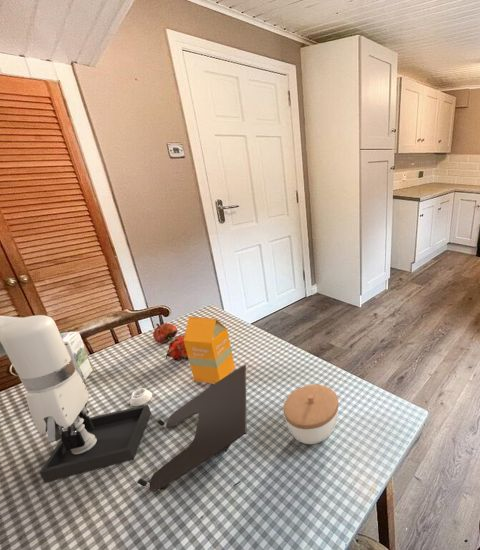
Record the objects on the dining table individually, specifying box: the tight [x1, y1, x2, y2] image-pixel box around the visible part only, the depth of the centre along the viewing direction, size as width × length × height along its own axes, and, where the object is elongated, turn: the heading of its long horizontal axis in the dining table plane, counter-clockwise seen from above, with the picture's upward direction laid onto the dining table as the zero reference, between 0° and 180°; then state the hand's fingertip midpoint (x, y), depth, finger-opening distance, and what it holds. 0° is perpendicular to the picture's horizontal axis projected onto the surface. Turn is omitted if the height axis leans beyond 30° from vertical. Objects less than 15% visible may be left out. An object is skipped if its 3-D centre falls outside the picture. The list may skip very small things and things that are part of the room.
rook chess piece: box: [64, 416, 97, 454], centre depth 68 cm, size 4×4×8 cm
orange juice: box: [184, 316, 236, 384], centre depth 90 cm, size 8×9×20 cm
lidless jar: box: [129, 387, 153, 407], centre depth 83 cm, size 5×3×5 cm
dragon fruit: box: [165, 332, 188, 362], centre depth 101 cm, size 8×8×12 cm
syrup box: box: [60, 331, 94, 383], centre depth 89 cm, size 6×6×14 cm
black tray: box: [38, 404, 152, 484], centre depth 70 cm, size 16×14×3 cm
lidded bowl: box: [283, 383, 339, 445], centre depth 72 cm, size 13×13×11 cm
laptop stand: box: [137, 364, 248, 493], centre depth 71 cm, size 23×23×9 cm
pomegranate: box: [152, 322, 178, 344], centre depth 108 cm, size 7×7×10 cm
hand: (80, 438), depth 69 cm, fingers closed on rook chess piece, 3 cm apart
